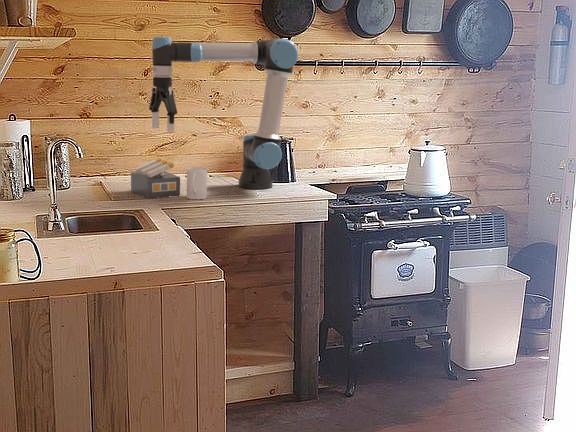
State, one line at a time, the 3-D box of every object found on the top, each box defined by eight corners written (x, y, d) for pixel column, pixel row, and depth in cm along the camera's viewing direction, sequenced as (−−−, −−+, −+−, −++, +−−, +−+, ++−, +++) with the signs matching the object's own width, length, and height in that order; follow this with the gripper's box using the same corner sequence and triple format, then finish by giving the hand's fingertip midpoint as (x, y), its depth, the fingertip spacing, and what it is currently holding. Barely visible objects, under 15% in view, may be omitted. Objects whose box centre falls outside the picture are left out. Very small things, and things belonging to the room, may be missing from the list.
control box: (162, 188, 327) (162, 165, 325) (180, 196, 312) (180, 172, 310) (131, 191, 320) (130, 167, 318) (148, 199, 305) (148, 174, 303)
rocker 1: (159, 161, 322) (157, 157, 322) (162, 162, 320) (160, 158, 319) (136, 171, 318) (134, 168, 317) (139, 172, 315) (137, 169, 314)
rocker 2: (164, 163, 318) (163, 159, 317) (168, 164, 315) (166, 161, 314) (141, 173, 313) (140, 170, 312) (144, 175, 310) (143, 171, 310)
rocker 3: (170, 165, 313) (169, 162, 312) (174, 166, 310) (172, 163, 309) (147, 176, 308) (146, 172, 307) (150, 177, 305) (149, 173, 305)
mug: (201, 202, 303) (201, 172, 300) (180, 200, 305) (180, 170, 302) (209, 196, 314) (210, 167, 312) (189, 195, 316) (190, 166, 313)
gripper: (140, 75, 311) (141, 127, 316) (168, 78, 292) (168, 133, 296) (157, 75, 316) (157, 126, 320) (185, 78, 296) (186, 132, 301)
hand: (163, 130), depth 308 cm, fingers open, 13 cm apart
